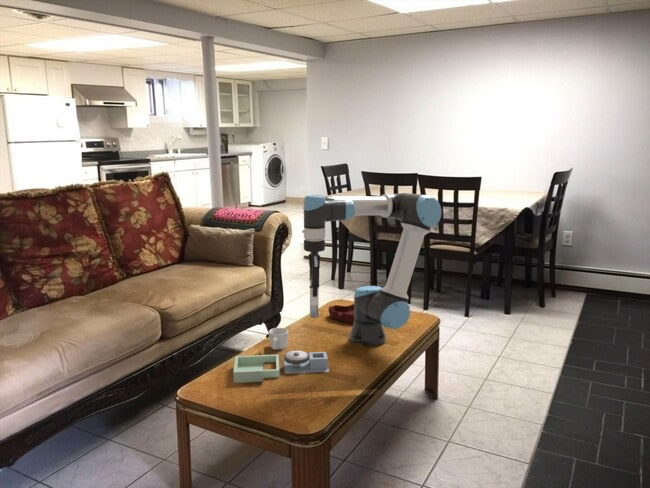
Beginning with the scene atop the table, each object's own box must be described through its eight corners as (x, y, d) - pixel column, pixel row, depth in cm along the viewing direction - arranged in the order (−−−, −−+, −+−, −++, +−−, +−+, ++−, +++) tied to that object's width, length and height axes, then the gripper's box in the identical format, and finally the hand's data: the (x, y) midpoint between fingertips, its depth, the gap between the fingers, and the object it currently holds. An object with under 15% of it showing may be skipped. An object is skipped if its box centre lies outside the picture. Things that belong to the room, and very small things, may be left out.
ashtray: (334, 326, 245) (334, 316, 244) (327, 315, 261) (327, 305, 260) (372, 324, 248) (372, 313, 247) (362, 312, 264) (362, 302, 263)
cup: (283, 357, 211) (283, 337, 209) (264, 355, 212) (263, 336, 211) (291, 346, 221) (290, 328, 219) (272, 345, 223) (272, 326, 221)
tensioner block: (326, 362, 205) (326, 346, 204) (329, 375, 195) (329, 358, 193) (283, 364, 204) (283, 348, 202) (284, 377, 193) (284, 359, 192)
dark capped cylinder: (317, 315, 197) (318, 275, 194) (318, 317, 194) (318, 278, 191) (309, 315, 196) (309, 276, 194) (310, 318, 194) (310, 278, 191)
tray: (278, 364, 204) (278, 354, 203) (279, 380, 190) (279, 370, 190) (235, 366, 202) (235, 356, 202) (233, 382, 189) (233, 372, 188)
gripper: (302, 235, 197) (302, 297, 202) (305, 243, 181) (305, 310, 186) (322, 235, 198) (322, 296, 202) (327, 243, 182) (327, 310, 187)
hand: (314, 303), depth 194 cm, fingers closed on dark capped cylinder, 3 cm apart
